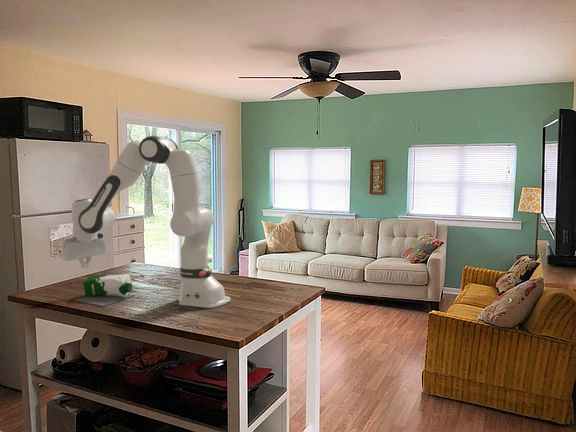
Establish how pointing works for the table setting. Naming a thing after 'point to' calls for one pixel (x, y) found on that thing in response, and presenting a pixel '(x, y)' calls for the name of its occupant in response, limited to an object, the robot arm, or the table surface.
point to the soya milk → (108, 285)
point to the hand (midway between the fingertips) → (85, 267)
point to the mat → (102, 300)
